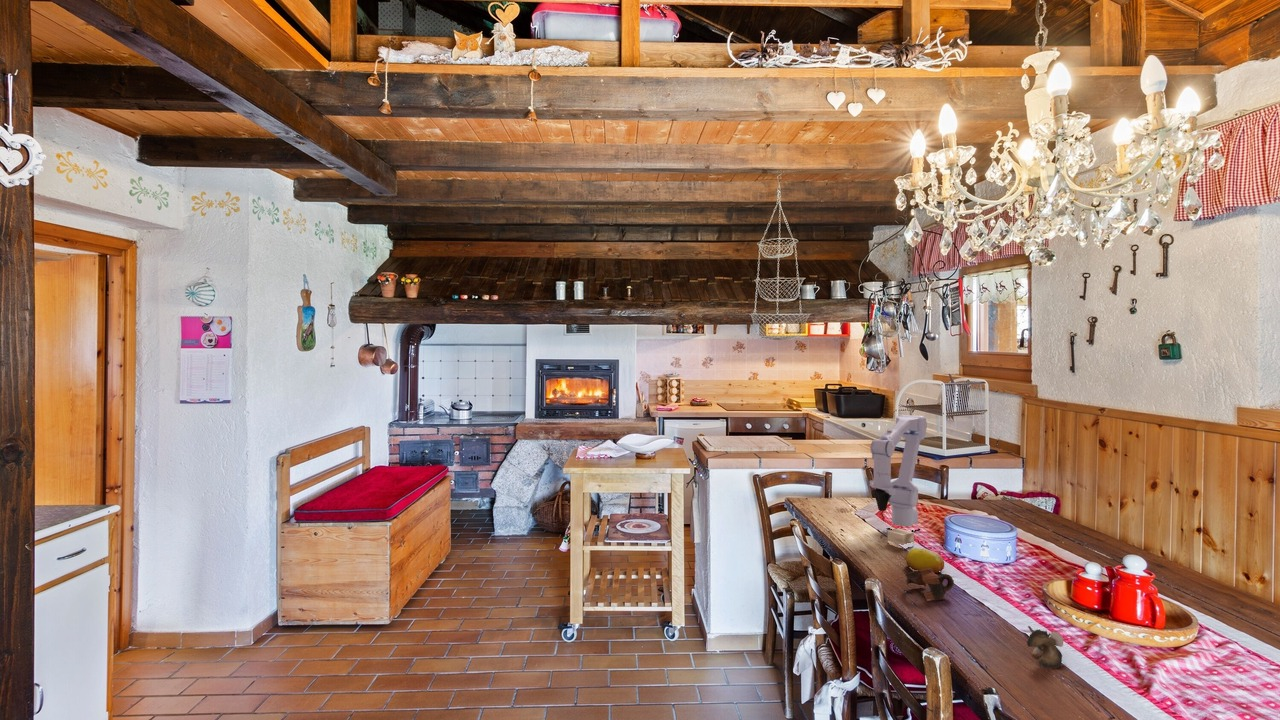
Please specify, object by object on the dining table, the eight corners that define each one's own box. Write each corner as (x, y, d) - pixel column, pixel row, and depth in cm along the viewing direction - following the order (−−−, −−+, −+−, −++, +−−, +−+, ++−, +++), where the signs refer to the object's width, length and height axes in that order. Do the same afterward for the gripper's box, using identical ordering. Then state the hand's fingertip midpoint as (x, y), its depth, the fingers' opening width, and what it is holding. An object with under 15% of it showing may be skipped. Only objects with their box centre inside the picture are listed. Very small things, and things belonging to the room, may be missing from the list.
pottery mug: (916, 604, 156) (905, 572, 159) (911, 606, 164) (900, 576, 168) (963, 595, 154) (950, 563, 158) (955, 598, 162) (942, 567, 166)
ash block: (898, 542, 206) (898, 528, 206) (913, 546, 201) (913, 532, 201) (887, 545, 203) (887, 530, 203) (903, 549, 198) (903, 535, 198)
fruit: (954, 575, 173) (946, 550, 173) (920, 585, 174) (912, 560, 173) (935, 561, 185) (928, 537, 184) (903, 570, 185) (896, 547, 185)
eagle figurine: (1016, 638, 133) (1016, 648, 126) (1036, 615, 132) (1038, 623, 125) (1050, 665, 129) (1053, 677, 122) (1072, 642, 128) (1075, 652, 120)
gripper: (861, 469, 215) (861, 505, 216) (882, 477, 201) (882, 516, 201) (879, 468, 216) (879, 504, 216) (901, 476, 202) (901, 515, 202)
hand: (882, 510), depth 209 cm, fingers closed
